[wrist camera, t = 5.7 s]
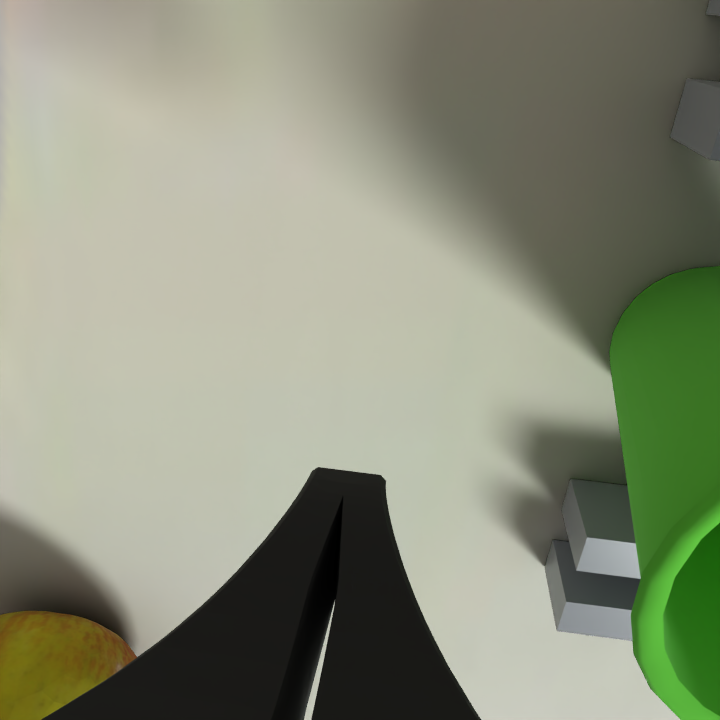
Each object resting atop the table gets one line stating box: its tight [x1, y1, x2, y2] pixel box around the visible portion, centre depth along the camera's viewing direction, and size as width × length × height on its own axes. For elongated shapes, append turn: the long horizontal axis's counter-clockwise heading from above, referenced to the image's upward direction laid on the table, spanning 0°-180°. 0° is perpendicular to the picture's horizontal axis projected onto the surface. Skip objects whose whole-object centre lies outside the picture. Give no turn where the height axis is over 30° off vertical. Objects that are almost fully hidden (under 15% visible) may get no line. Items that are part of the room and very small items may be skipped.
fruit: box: [0, 611, 137, 720], centre depth 28 cm, size 10×9×8 cm
